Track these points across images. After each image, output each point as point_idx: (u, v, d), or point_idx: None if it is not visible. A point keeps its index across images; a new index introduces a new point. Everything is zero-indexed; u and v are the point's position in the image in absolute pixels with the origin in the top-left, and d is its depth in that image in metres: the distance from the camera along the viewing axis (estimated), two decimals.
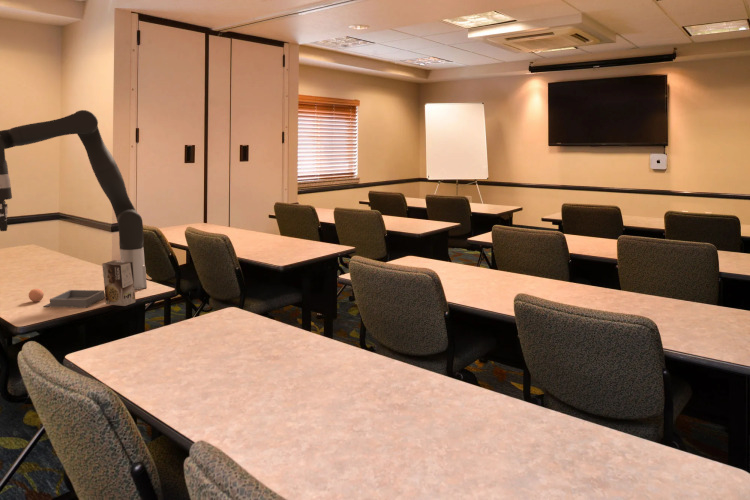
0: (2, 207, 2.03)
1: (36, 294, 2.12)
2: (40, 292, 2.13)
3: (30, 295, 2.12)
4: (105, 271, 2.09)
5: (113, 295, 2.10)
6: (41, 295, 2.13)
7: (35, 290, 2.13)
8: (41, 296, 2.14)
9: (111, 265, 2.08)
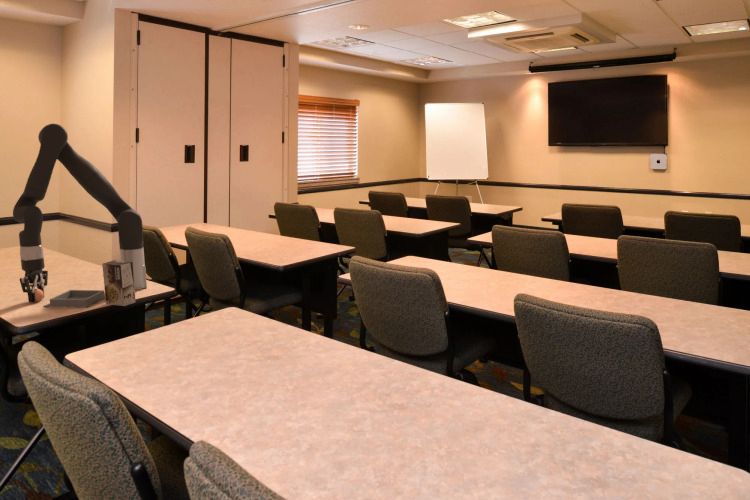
0: None
1: (36, 294, 2.12)
2: (40, 292, 2.13)
3: None
4: (105, 271, 2.09)
5: (113, 295, 2.10)
6: (41, 295, 2.13)
7: (35, 290, 2.13)
8: (41, 296, 2.14)
9: (111, 265, 2.08)
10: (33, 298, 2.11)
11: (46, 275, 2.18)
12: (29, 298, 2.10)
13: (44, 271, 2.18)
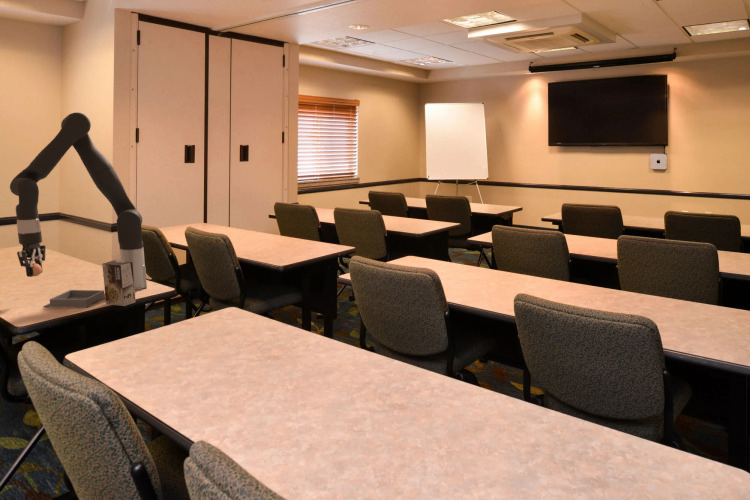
0: None
1: (34, 268, 2.10)
2: (38, 266, 2.11)
3: None
4: (105, 271, 2.09)
5: (113, 295, 2.10)
6: (39, 270, 2.11)
7: (33, 264, 2.11)
8: (39, 271, 2.11)
9: (111, 265, 2.08)
10: (31, 273, 2.09)
11: (44, 250, 2.16)
12: (27, 272, 2.08)
13: (42, 246, 2.16)
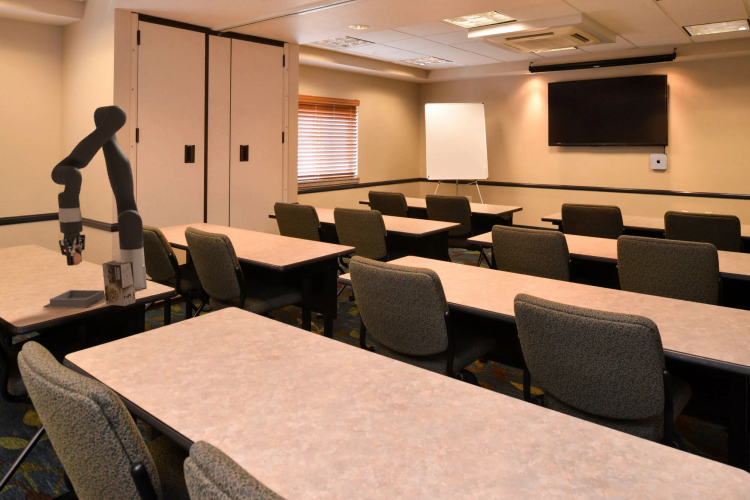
0: None
1: (74, 257, 2.09)
2: (78, 255, 2.10)
3: None
4: (105, 271, 2.09)
5: (113, 295, 2.10)
6: (79, 259, 2.10)
7: (73, 253, 2.10)
8: (79, 260, 2.10)
9: (111, 265, 2.08)
10: (71, 261, 2.08)
11: (84, 239, 2.15)
12: (68, 261, 2.07)
13: (82, 235, 2.15)
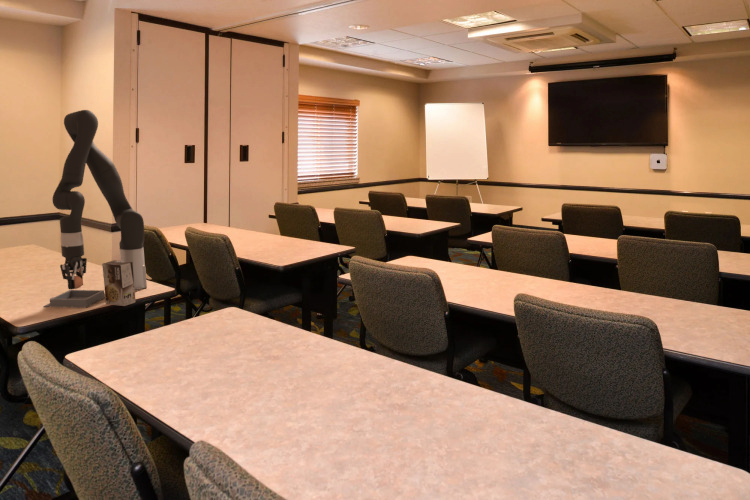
0: None
1: (75, 281, 2.11)
2: (79, 279, 2.12)
3: None
4: (105, 271, 2.09)
5: (113, 295, 2.10)
6: (80, 282, 2.12)
7: (74, 277, 2.11)
8: (80, 283, 2.12)
9: (111, 265, 2.08)
10: (72, 285, 2.10)
11: (85, 262, 2.17)
12: (69, 285, 2.09)
13: (83, 258, 2.17)
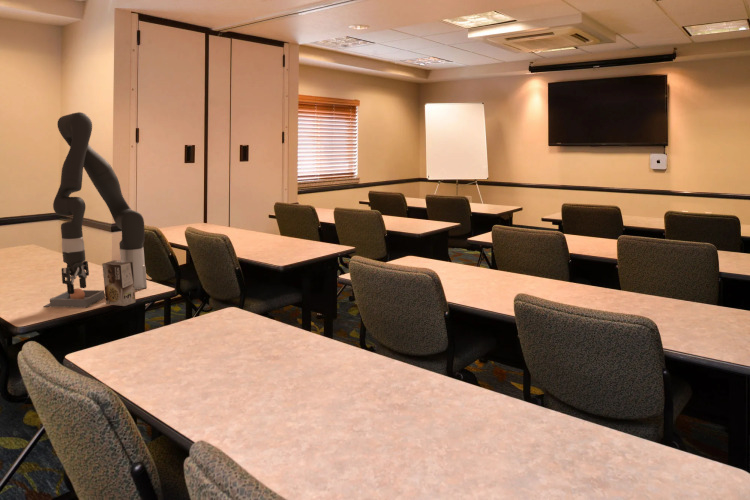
0: None
1: (77, 293, 2.12)
2: (82, 292, 2.13)
3: (72, 295, 2.11)
4: (105, 271, 2.09)
5: (113, 295, 2.10)
6: (83, 295, 2.13)
7: (77, 290, 2.12)
8: (83, 296, 2.13)
9: (111, 265, 2.08)
10: (72, 290, 2.08)
11: (86, 265, 2.18)
12: (68, 290, 2.08)
13: (84, 262, 2.17)
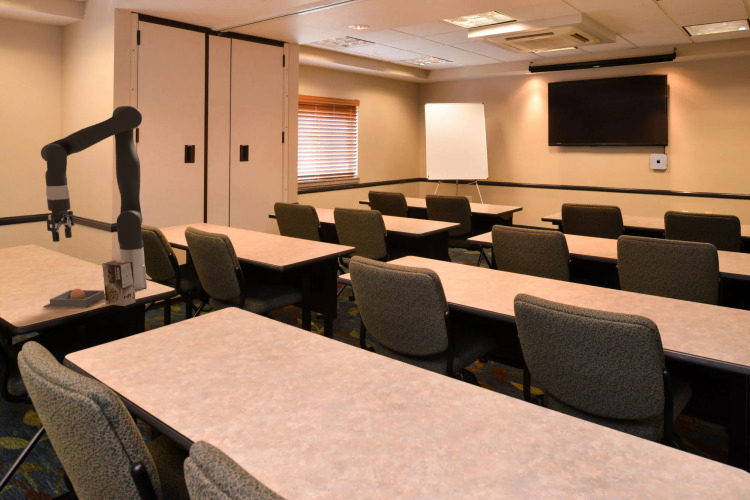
0: None
1: (77, 293, 2.12)
2: (81, 292, 2.13)
3: (72, 295, 2.11)
4: (105, 271, 2.09)
5: (113, 295, 2.10)
6: (82, 295, 2.13)
7: (77, 290, 2.12)
8: (82, 296, 2.13)
9: (111, 265, 2.08)
10: (57, 238, 2.08)
11: (72, 215, 2.18)
12: (53, 237, 2.08)
13: (69, 211, 2.17)
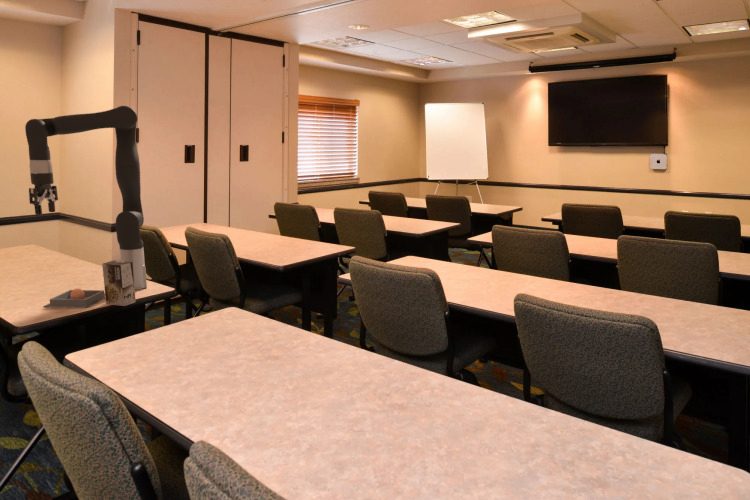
0: None
1: (77, 293, 2.11)
2: (81, 292, 2.13)
3: (72, 295, 2.11)
4: (105, 271, 2.09)
5: (113, 295, 2.10)
6: (82, 295, 2.13)
7: (76, 290, 2.12)
8: (82, 296, 2.13)
9: (111, 265, 2.08)
10: (39, 211, 2.13)
11: (55, 190, 2.22)
12: (36, 210, 2.12)
13: (53, 186, 2.21)
